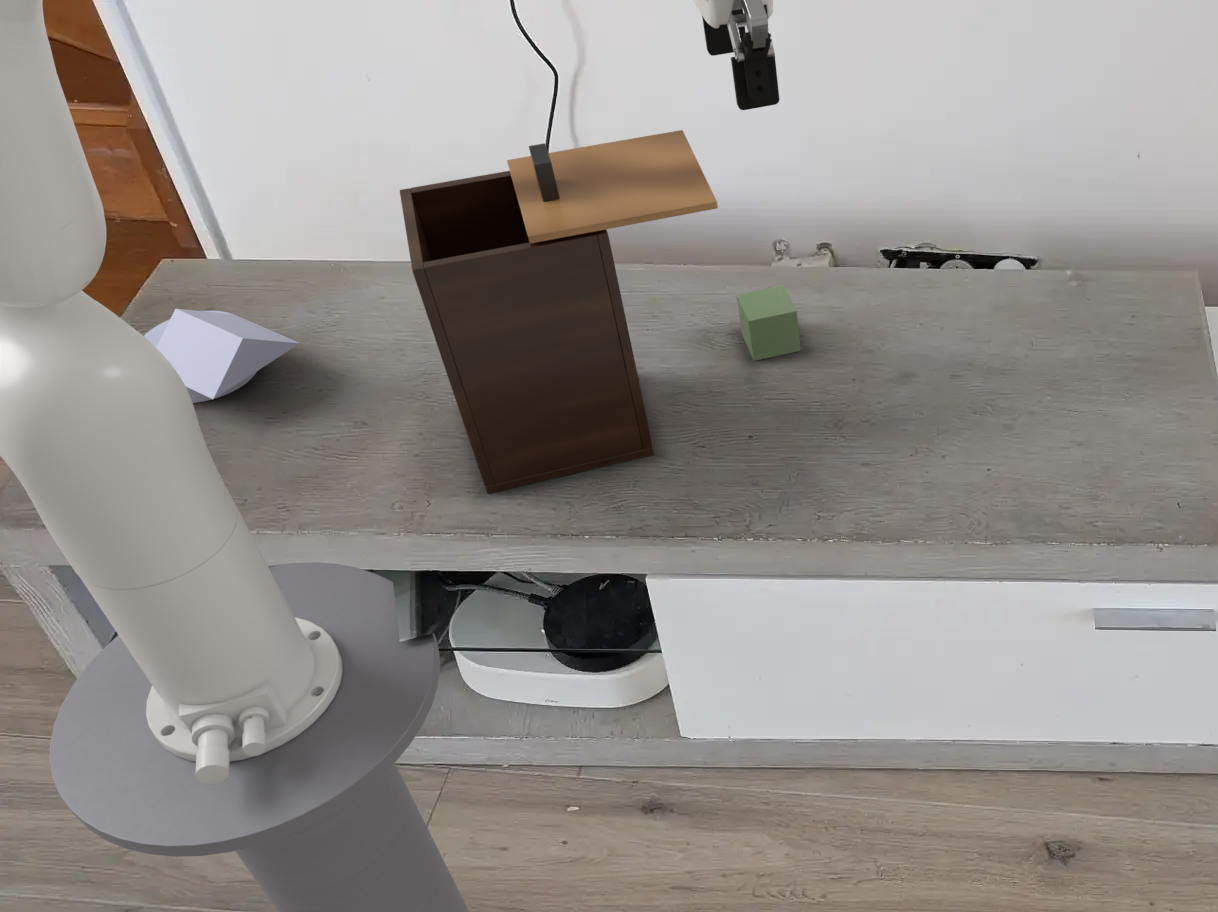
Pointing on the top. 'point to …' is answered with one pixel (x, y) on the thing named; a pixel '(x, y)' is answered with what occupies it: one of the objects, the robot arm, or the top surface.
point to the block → (768, 322)
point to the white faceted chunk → (216, 350)
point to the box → (525, 334)
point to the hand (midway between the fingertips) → (742, 77)
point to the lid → (608, 185)
